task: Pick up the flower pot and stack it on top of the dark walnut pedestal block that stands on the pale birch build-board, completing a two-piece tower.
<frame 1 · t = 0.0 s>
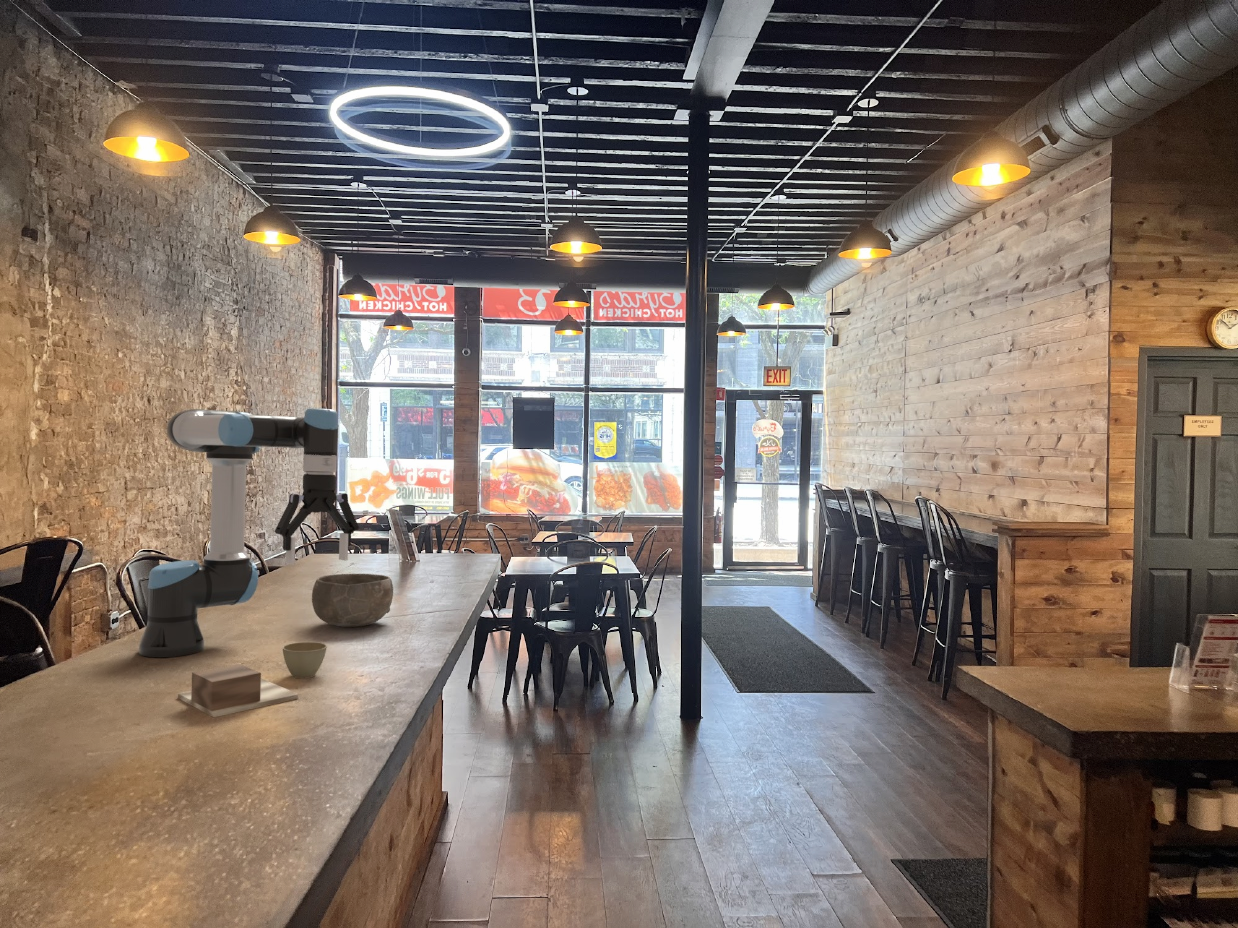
hand: (317, 562, 192), 28 cm above the table, fingers open, 13 cm apart
flower pot: (304, 676, 195), on the table
pedestal: (225, 700, 171), point 1 cm above the table, touching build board
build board: (238, 698, 176), on the table
bowl: (352, 626, 251), on the table
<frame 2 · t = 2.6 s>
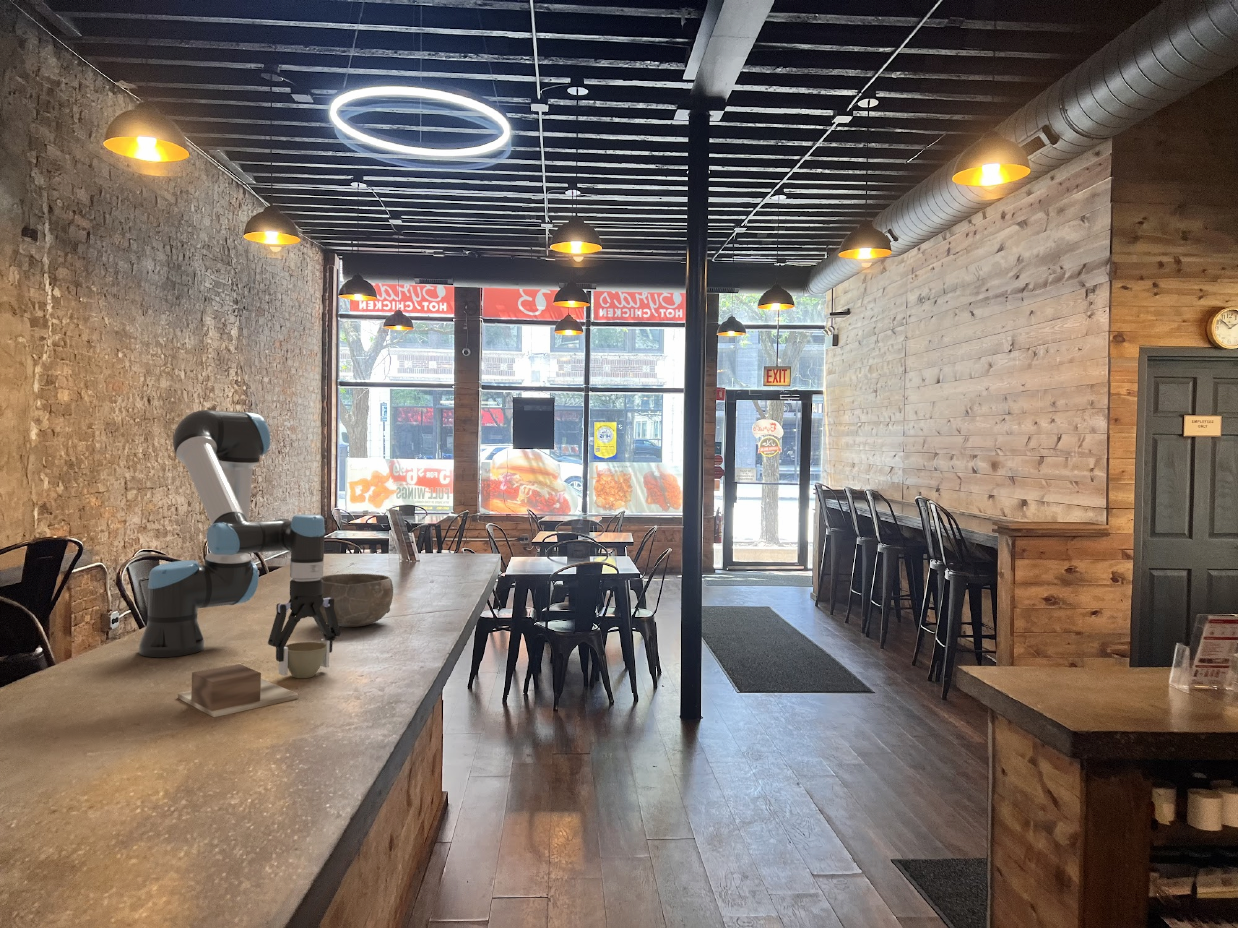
hand: (304, 670, 194), 1 cm above the table, fingers closed on flower pot, 10 cm apart
flower pot: (304, 676, 195), on the table, touching gripper
everything else where it was.
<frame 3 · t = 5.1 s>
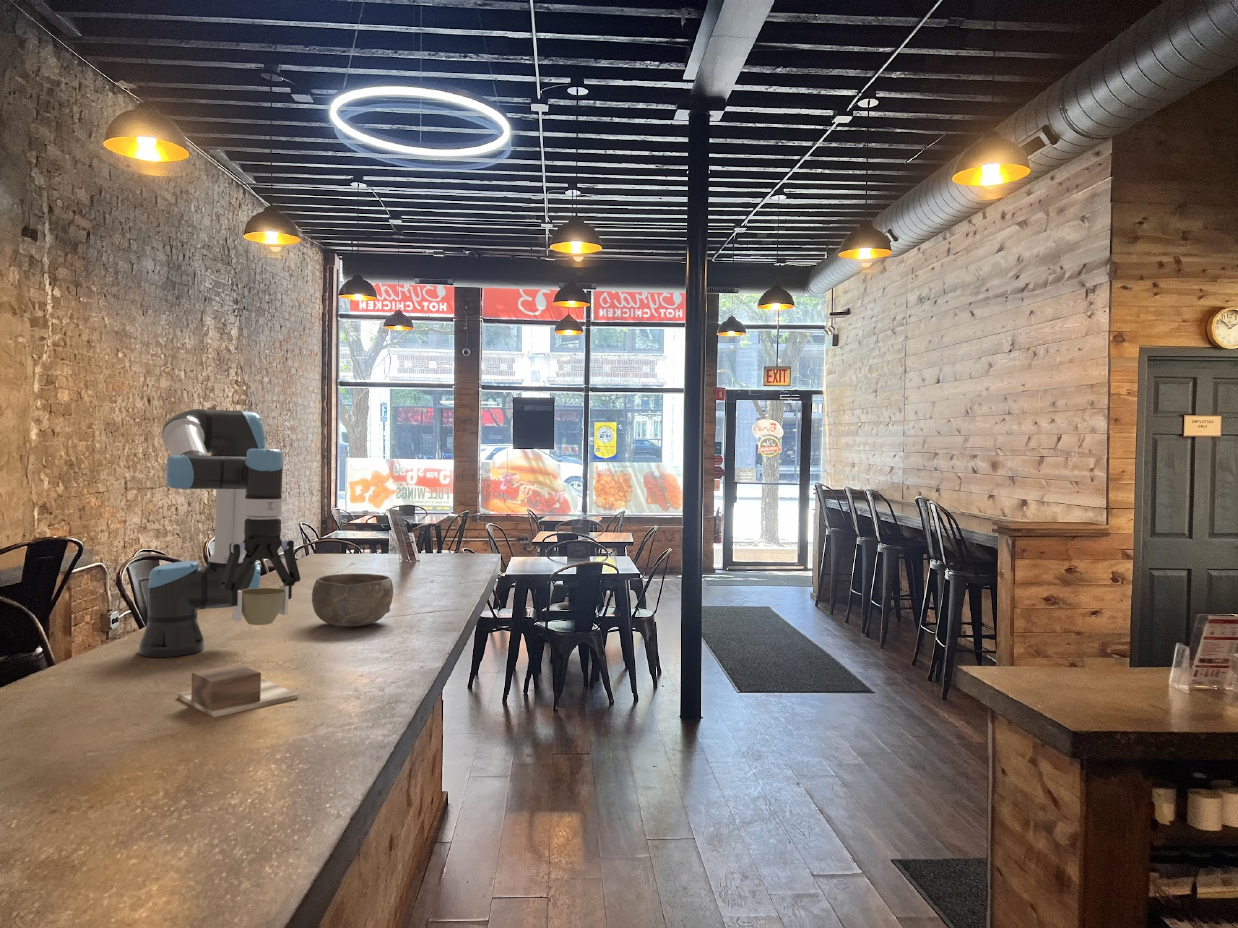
hand: (260, 617, 179), 17 cm above the table, fingers closed on flower pot, 10 cm apart
flower pot: (260, 623, 179), point 16 cm above the table, touching gripper
everything else where it was.
when the fingers open (10 cm above the table, at t = 7.4 s): flower pot drops 2 cm, resting on pedestal.
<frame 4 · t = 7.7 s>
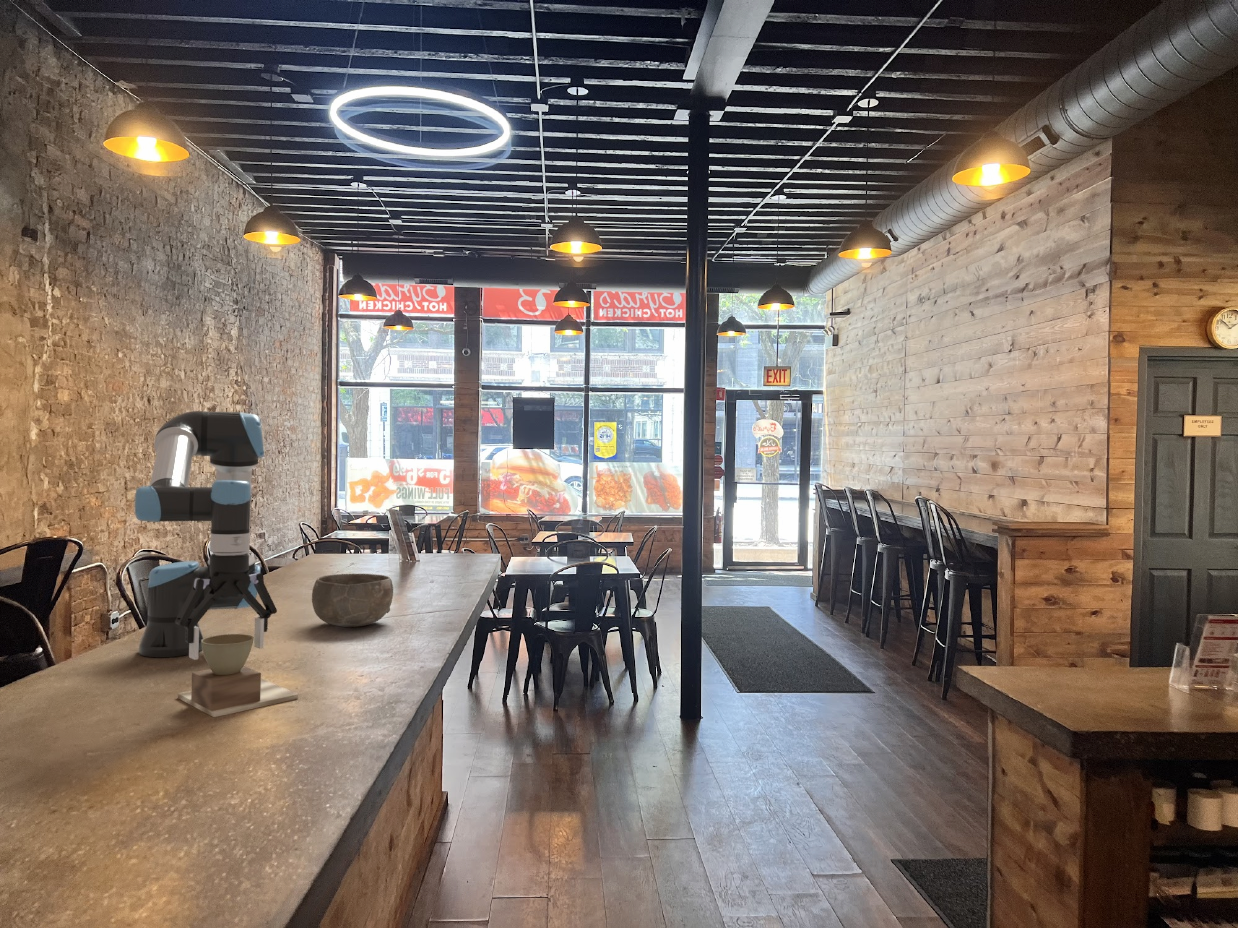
hand: (227, 652, 170), 11 cm above the table, fingers open, 13 cm apart
flower pot: (227, 673, 171), point 7 cm above the table, touching pedestal
pedestal: (225, 700, 171), point 1 cm above the table, touching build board, flower pot
everything else where it was.
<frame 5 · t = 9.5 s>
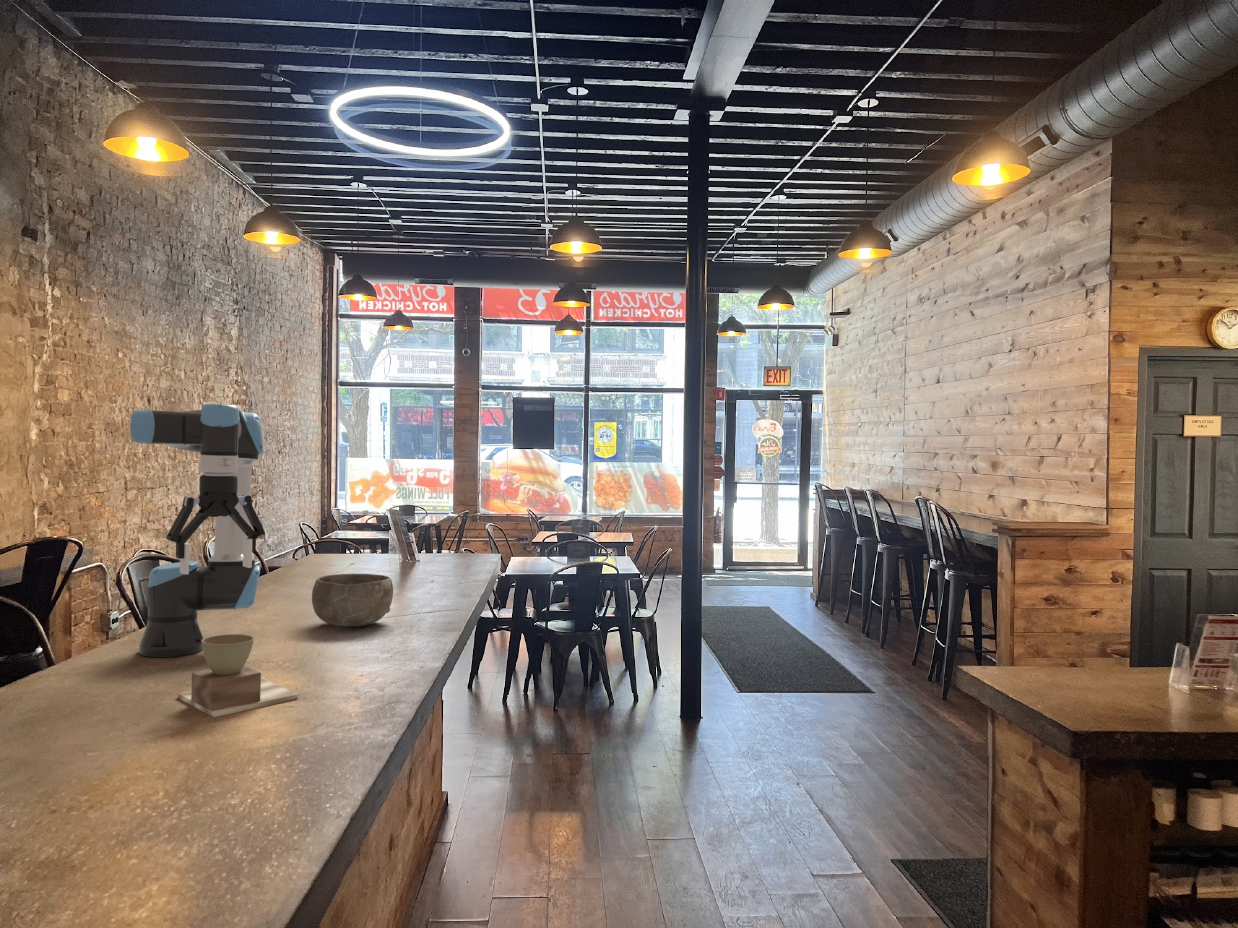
hand: (216, 570, 177), 28 cm above the table, fingers open, 13 cm apart
nothing on the table moved.
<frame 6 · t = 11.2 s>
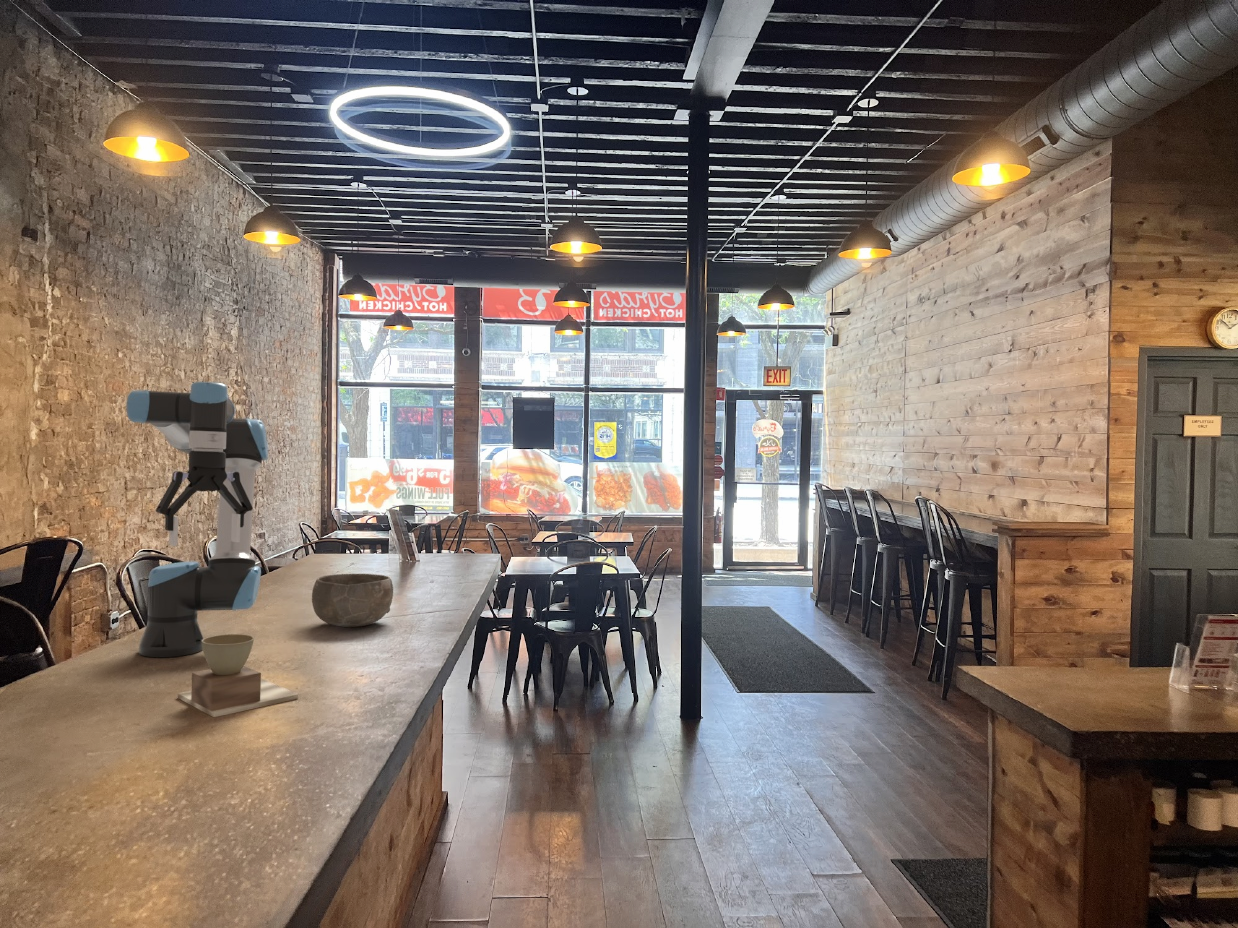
hand: (205, 543, 183), 33 cm above the table, fingers open, 13 cm apart
nothing on the table moved.
at the end: flower pot inside the target area on the pedestal (0.2 cm from its centre), point 5.8 cm above the pedestal's base; flower pot tilted 0°; the gripper is holding nothing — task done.
